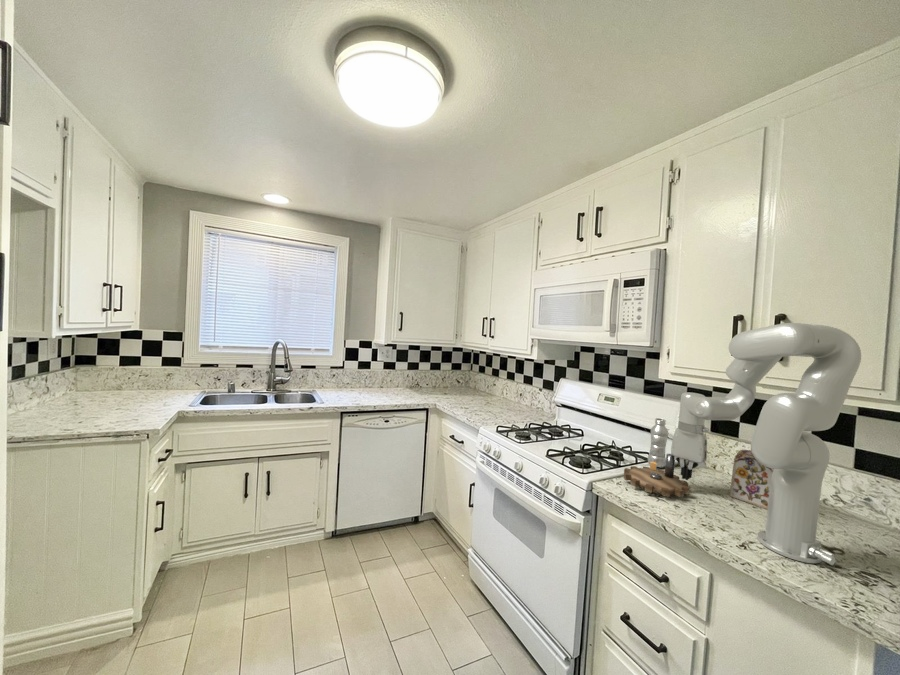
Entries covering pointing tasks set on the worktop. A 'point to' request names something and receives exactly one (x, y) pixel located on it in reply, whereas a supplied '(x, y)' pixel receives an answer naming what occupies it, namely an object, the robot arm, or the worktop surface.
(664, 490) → the sprocket
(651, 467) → the timing post
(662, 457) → the plastic bottle
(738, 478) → the decorative jar
